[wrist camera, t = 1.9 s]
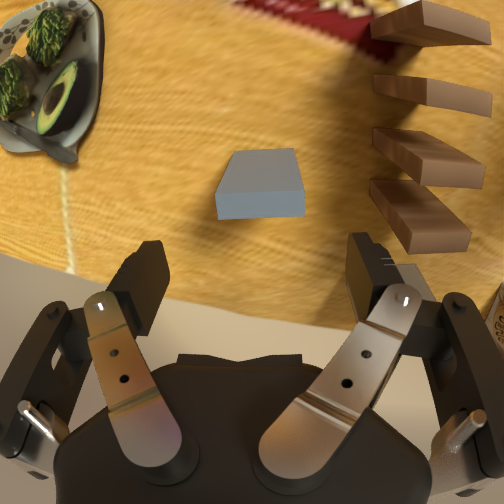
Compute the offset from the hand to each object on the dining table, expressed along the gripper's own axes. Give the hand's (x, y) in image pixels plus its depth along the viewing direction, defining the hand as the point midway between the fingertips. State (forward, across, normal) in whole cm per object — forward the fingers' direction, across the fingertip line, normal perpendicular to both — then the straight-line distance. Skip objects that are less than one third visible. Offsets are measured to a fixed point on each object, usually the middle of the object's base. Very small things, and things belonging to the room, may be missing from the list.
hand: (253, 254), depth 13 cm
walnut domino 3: (+15, -12, -2) cm, 19 cm away
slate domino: (+15, 0, 0) cm, 15 cm away
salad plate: (+16, +21, -12) cm, 29 cm away
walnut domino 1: (+15, -12, -12) cm, 22 cm away
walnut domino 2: (+15, -12, -7) cm, 20 cm away
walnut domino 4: (+15, -12, +3) cm, 20 cm away
